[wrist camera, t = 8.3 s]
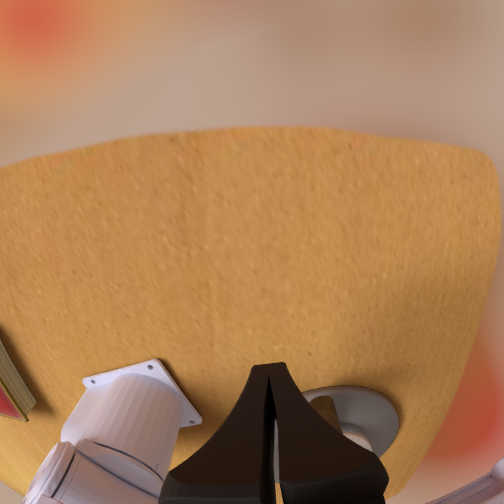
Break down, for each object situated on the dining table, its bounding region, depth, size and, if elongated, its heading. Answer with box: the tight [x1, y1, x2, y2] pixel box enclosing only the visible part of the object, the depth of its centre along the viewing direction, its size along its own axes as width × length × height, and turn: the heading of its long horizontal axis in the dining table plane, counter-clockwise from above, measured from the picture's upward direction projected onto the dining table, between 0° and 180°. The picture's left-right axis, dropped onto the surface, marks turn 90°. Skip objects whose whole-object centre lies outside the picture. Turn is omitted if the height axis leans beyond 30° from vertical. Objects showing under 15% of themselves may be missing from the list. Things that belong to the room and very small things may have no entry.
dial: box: [278, 395, 372, 459], centre depth 20 cm, size 14×9×6 cm, turn 12°
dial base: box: [274, 386, 399, 483], centre depth 25 cm, size 16×16×1 cm
